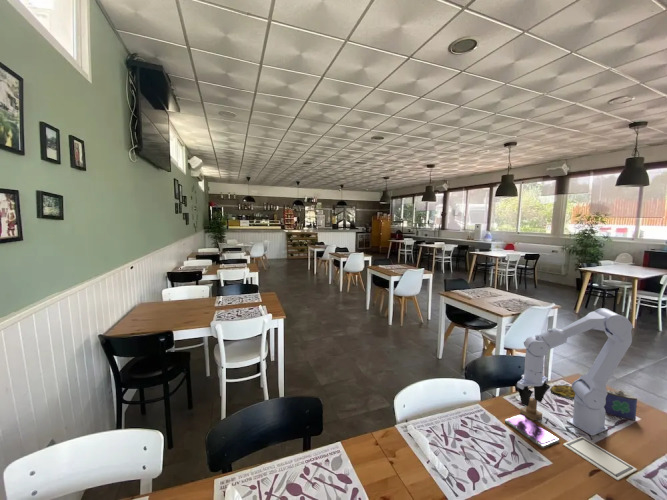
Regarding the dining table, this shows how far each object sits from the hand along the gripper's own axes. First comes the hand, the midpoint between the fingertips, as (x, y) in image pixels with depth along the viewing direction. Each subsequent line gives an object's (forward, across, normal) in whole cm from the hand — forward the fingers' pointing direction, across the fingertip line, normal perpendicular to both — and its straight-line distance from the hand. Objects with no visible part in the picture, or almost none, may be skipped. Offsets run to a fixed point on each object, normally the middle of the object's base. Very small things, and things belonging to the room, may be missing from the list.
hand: (531, 402), depth 107 cm
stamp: (+5, 0, 0) cm, 5 cm away
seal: (+6, -31, -5) cm, 32 cm away
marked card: (+5, 0, +21) cm, 22 cm away
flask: (+5, -32, +12) cm, 35 cm away
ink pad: (+5, +9, +6) cm, 12 cm away
